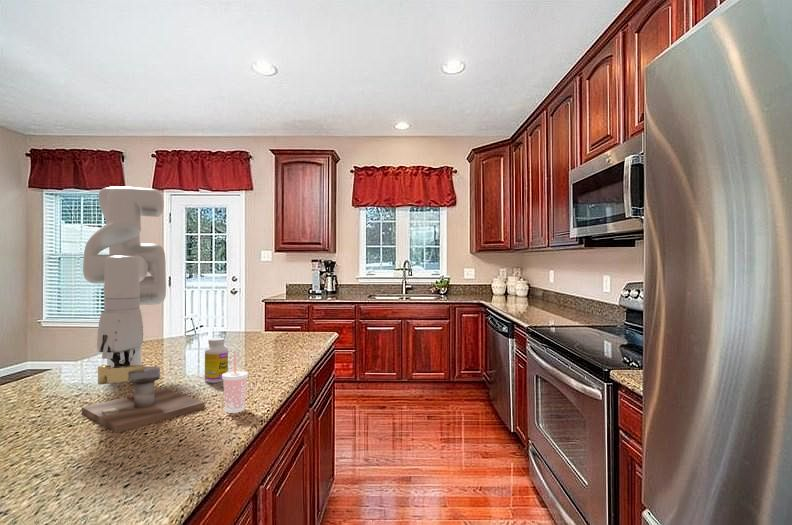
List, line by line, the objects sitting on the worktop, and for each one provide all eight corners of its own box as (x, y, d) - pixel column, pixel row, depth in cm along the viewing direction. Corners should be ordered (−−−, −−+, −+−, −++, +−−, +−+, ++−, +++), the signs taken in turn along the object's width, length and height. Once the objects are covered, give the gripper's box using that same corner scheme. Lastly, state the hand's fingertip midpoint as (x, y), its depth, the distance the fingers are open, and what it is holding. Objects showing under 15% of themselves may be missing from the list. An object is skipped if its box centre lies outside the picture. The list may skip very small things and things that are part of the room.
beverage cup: (232, 415, 107) (232, 357, 106) (216, 411, 110) (216, 354, 110) (253, 408, 112) (253, 352, 112) (237, 404, 115) (237, 350, 115)
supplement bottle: (219, 384, 133) (219, 341, 133) (199, 382, 135) (200, 340, 134) (232, 378, 140) (232, 337, 140) (213, 377, 141) (213, 336, 141)
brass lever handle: (93, 387, 103) (93, 370, 103) (102, 379, 110) (102, 363, 110) (157, 382, 108) (157, 365, 108) (162, 375, 114) (162, 359, 114)
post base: (81, 413, 108) (81, 384, 108) (165, 393, 124) (165, 368, 124) (116, 432, 96) (116, 400, 96) (204, 408, 112) (204, 380, 112)
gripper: (132, 301, 119) (132, 370, 119) (82, 307, 104) (82, 385, 105) (157, 302, 118) (157, 371, 118) (109, 308, 103) (109, 387, 103)
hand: (122, 378), depth 111 cm, fingers closed
